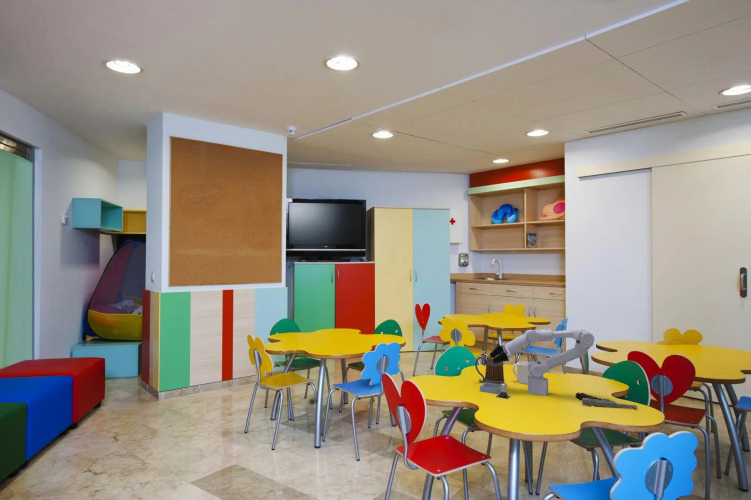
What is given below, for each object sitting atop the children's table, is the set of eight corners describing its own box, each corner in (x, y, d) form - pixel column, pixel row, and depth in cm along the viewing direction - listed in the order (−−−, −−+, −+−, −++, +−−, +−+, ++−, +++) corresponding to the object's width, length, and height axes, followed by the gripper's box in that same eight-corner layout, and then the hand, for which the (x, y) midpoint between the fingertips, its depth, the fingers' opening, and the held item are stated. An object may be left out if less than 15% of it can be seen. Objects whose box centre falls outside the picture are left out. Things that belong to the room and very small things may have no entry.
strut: (508, 396, 220) (508, 383, 220) (506, 398, 217) (506, 385, 217) (500, 395, 222) (500, 382, 222) (498, 396, 219) (498, 384, 219)
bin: (503, 392, 231) (503, 385, 231) (498, 396, 223) (498, 389, 223) (485, 389, 236) (485, 382, 236) (479, 393, 228) (479, 386, 228)
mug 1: (502, 382, 250) (502, 355, 250) (506, 388, 239) (506, 359, 240) (473, 381, 251) (474, 354, 252) (475, 386, 241) (476, 357, 241)
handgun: (627, 403, 219) (638, 412, 205) (574, 398, 225) (581, 406, 210) (628, 395, 220) (638, 404, 205) (574, 391, 225) (581, 398, 211)
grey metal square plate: (511, 398, 220) (511, 396, 220) (508, 401, 215) (508, 399, 215) (499, 396, 223) (499, 394, 223) (495, 399, 218) (495, 396, 218)
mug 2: (533, 380, 257) (533, 362, 257) (538, 385, 247) (538, 365, 247) (510, 379, 257) (510, 361, 258) (515, 384, 247) (515, 365, 248)
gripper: (508, 333, 237) (485, 347, 239) (515, 343, 223) (491, 357, 224) (514, 344, 238) (492, 357, 239) (522, 355, 223) (498, 369, 225)
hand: (492, 358), depth 232 cm, fingers open, 7 cm apart
